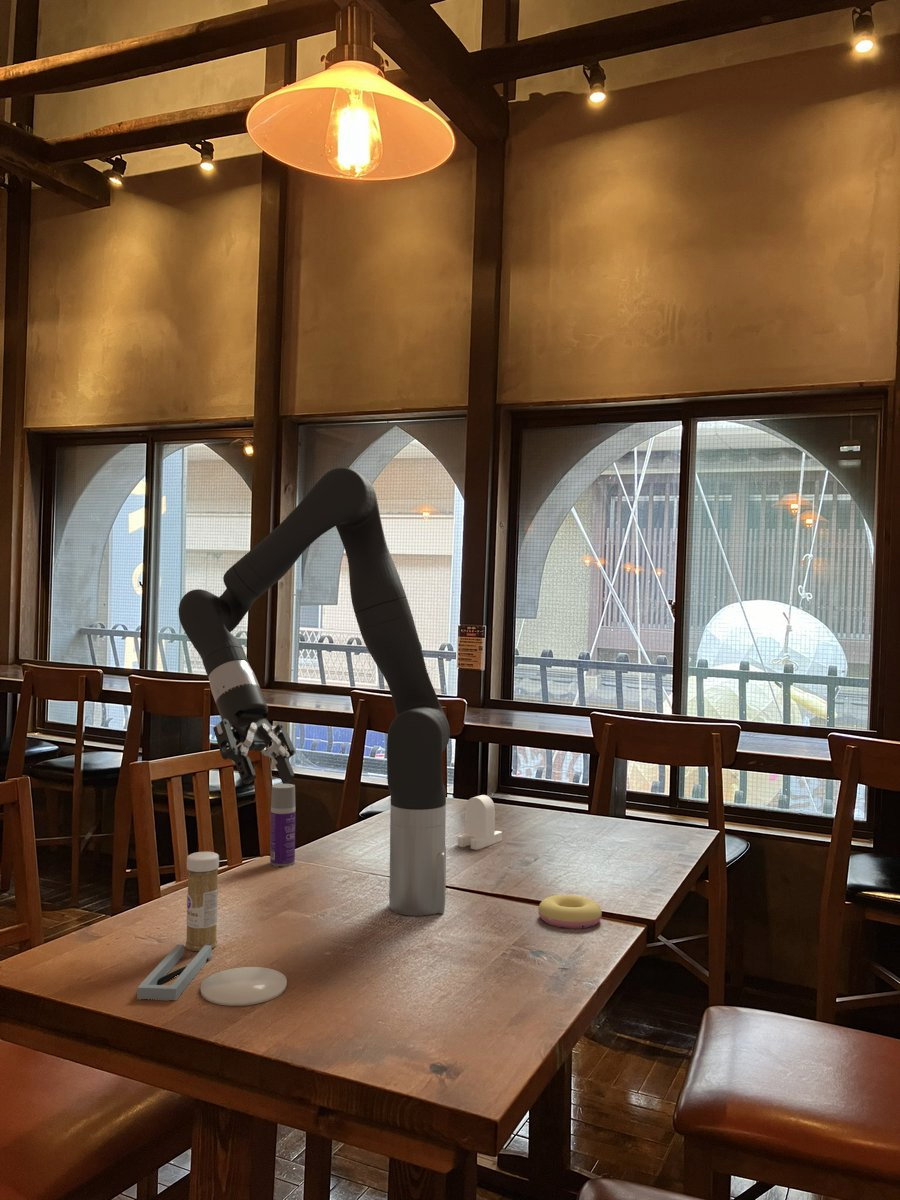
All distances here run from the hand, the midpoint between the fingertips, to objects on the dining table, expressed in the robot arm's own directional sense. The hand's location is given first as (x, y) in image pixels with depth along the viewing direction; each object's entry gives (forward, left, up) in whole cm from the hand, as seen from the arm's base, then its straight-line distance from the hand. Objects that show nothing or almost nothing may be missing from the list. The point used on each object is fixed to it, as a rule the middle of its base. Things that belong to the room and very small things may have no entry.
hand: (270, 781), depth 147 cm
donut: (-48, -6, -23) cm, 53 cm away
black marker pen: (+7, +20, -23) cm, 32 cm away
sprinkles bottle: (+7, +10, -23) cm, 26 cm away
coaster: (-3, +24, -22) cm, 33 cm away
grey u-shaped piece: (+7, +21, -22) cm, 31 cm away
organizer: (-33, -53, -23) cm, 66 cm away
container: (+5, -34, -23) cm, 41 cm away
